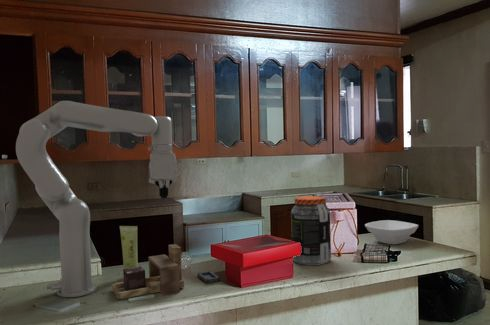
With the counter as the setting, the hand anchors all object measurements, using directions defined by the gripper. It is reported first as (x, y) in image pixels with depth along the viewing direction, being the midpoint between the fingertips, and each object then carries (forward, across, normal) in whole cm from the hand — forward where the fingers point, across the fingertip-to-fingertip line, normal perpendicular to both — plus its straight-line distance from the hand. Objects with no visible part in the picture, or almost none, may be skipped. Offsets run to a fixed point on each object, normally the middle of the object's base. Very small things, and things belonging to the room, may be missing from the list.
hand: (163, 197), depth 160 cm
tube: (+29, -13, +1) cm, 32 cm away
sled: (+28, -10, -14) cm, 34 cm away
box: (+29, -14, -13) cm, 35 cm away
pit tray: (+29, +12, -14) cm, 34 cm away
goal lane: (+29, -14, -15) cm, 35 cm away
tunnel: (+29, -5, -14) cm, 33 cm away
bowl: (+28, +105, -8) cm, 109 cm away
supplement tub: (+29, +56, -14) cm, 65 cm away
